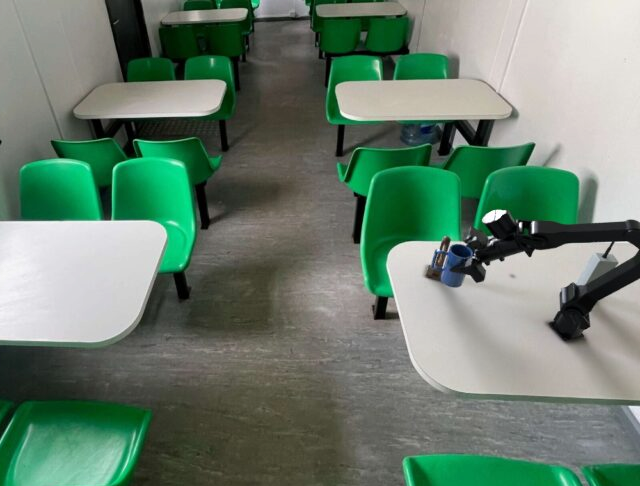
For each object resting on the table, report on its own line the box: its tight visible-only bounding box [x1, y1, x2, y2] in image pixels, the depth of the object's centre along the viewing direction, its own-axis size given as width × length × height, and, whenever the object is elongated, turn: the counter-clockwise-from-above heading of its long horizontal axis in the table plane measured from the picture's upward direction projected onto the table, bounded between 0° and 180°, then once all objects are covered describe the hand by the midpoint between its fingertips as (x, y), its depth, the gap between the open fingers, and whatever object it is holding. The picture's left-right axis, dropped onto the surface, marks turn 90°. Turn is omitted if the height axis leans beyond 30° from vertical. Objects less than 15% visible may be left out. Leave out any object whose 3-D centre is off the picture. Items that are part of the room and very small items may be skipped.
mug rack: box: [425, 235, 452, 282], centre depth 135 cm, size 6×14×17 cm, turn 151°
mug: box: [430, 243, 473, 289], centre depth 130 cm, size 10×6×12 cm, turn 61°
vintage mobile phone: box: [575, 242, 620, 285], centre depth 126 cm, size 4×5×25 cm
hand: (451, 263), depth 130 cm, fingers closed on mug, 6 cm apart
